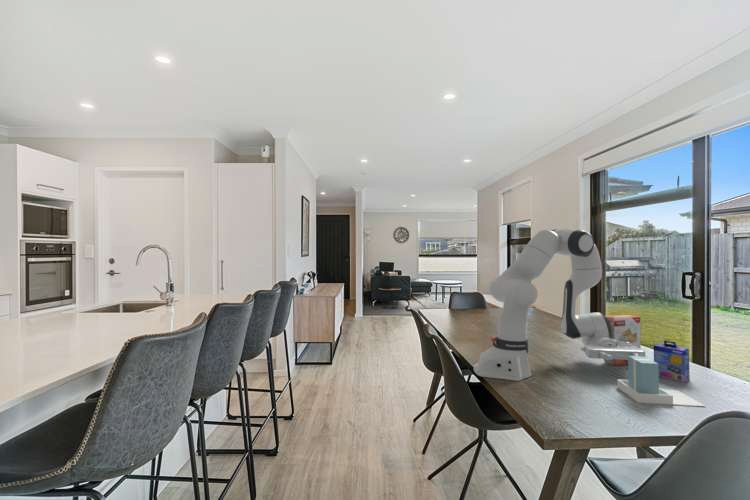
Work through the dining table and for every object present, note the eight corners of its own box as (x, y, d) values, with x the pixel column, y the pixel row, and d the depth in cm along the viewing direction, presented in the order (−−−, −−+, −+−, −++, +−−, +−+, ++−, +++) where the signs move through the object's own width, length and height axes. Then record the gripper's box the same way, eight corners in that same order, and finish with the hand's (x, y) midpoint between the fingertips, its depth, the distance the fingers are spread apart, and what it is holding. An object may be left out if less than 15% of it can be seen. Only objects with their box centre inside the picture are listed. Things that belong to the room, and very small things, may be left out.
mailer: (638, 402, 112) (638, 393, 112) (617, 387, 125) (617, 379, 125) (705, 407, 108) (705, 397, 108) (677, 390, 121) (676, 382, 121)
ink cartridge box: (653, 375, 137) (652, 339, 137) (658, 372, 140) (657, 337, 140) (685, 382, 129) (684, 344, 129) (690, 379, 132) (689, 342, 132)
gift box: (641, 399, 114) (641, 362, 114) (628, 389, 122) (628, 355, 122) (659, 400, 113) (658, 363, 113) (644, 390, 121) (644, 356, 121)
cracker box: (615, 366, 148) (614, 317, 148) (603, 362, 153) (602, 315, 154) (642, 364, 150) (641, 316, 151) (629, 360, 156) (628, 314, 157)
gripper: (578, 340, 145) (593, 349, 131) (633, 341, 141) (654, 351, 127) (579, 355, 145) (594, 365, 131) (633, 357, 141) (654, 368, 127)
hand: (624, 358), depth 129 cm, fingers open, 8 cm apart
